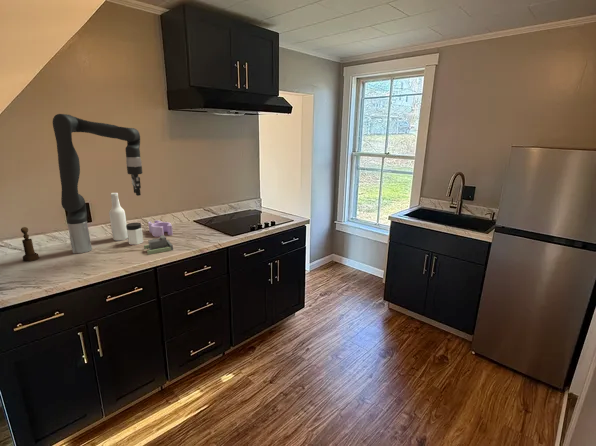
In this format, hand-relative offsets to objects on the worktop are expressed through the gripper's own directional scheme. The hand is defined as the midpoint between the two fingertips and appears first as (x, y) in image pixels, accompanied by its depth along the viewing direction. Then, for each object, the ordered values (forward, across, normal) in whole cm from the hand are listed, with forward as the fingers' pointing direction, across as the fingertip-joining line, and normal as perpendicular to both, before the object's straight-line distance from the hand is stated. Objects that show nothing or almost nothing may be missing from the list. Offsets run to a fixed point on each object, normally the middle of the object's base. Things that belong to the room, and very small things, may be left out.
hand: (137, 194), depth 179 cm
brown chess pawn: (+34, -13, -53) cm, 64 cm away
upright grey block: (+33, +7, +7) cm, 34 cm away
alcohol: (+33, -26, -9) cm, 43 cm away
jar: (+33, -13, -2) cm, 36 cm away
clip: (+33, -26, +15) cm, 45 cm away
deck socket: (+33, +7, +7) cm, 34 cm away
